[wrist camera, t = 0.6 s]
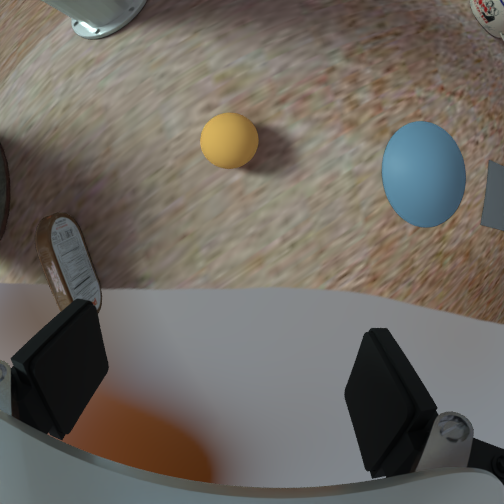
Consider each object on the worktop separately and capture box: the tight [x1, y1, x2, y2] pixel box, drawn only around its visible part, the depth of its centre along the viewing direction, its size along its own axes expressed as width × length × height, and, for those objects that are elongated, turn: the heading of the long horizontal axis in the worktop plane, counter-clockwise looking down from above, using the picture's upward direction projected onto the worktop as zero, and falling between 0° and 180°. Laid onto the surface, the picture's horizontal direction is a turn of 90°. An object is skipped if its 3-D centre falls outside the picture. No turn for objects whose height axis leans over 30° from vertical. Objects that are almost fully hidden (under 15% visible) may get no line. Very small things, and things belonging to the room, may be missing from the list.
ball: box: [200, 113, 258, 169], centre depth 28 cm, size 6×6×6 cm
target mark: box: [382, 121, 466, 227], centre depth 31 cm, size 14×14×1 cm
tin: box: [35, 213, 102, 313], centre depth 32 cm, size 15×3×8 cm, turn 14°
